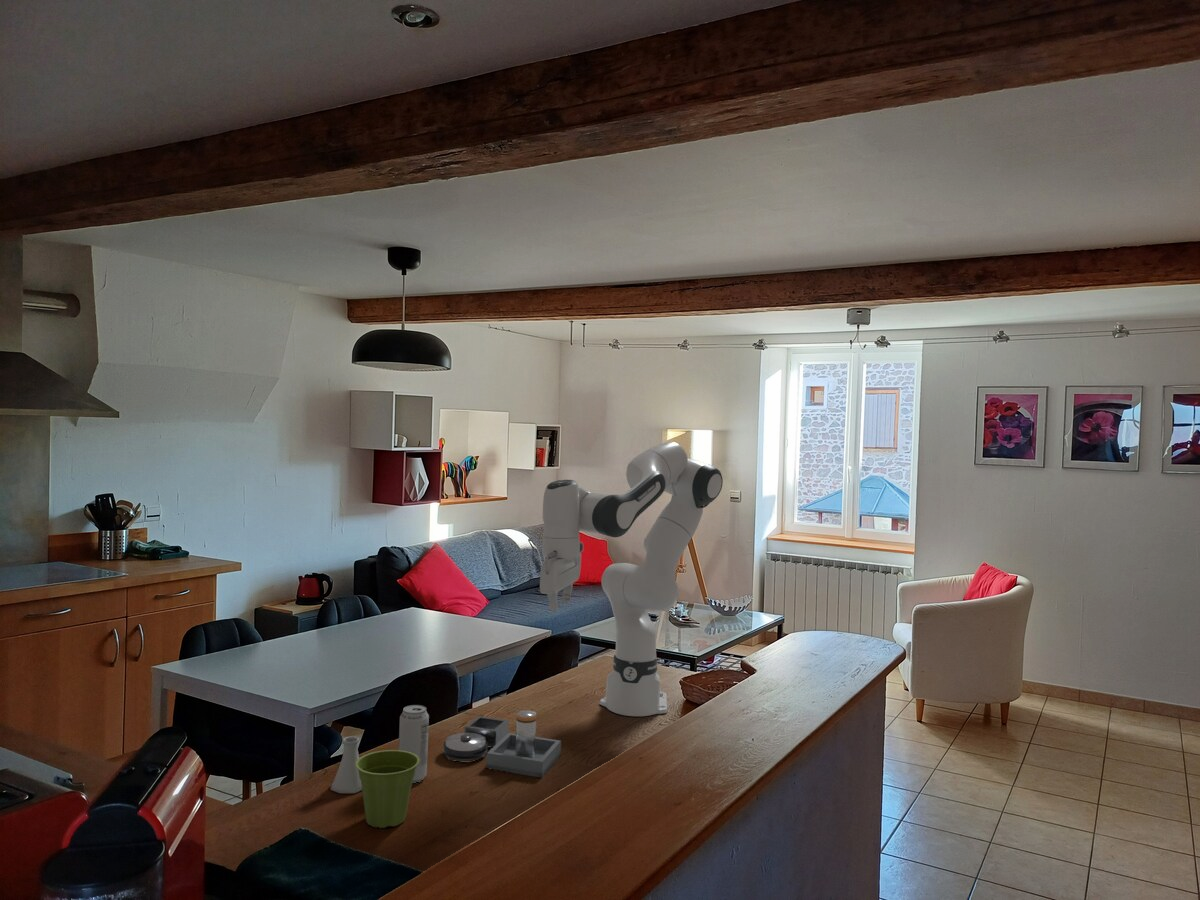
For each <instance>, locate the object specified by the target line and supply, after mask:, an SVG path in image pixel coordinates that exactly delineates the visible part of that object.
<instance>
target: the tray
mask: <svg viewBox="0 0 1200 900" xmlns="http://www.w3.org/2000/svg"><path fill="white" fill-rule="evenodd" d="M515 748H516V733H513V732H512V733H511V732H508V734H507V735H506V736H505V737H504V738H502V739H501V740H500V741H499V742H498V743H497V744H496V745H495V746H494V747H493V748H490V750H488V751H487V753H486V764H485V765H486V766H485V769H486V768H491V769H495V770H494V771H497V770H500V771H499V772H503V771H505V772H504V773H509V772H511V774H514V775H515V774H517V775H524V776H529V777H536V778H543V777H544V776H545V775H546V774H547V772H548V771H549V770H550V769H551V767H552V766H553V765H554V764H555V763H556V762H557V761H558V759H559V758H560V756H561V752H562V751H561V750H562V740H558V739H552V738H547V737H546V738H545V737H539V736H536V737H535V758H528V757H521V756H515ZM491 769H490V770H491Z"/></svg>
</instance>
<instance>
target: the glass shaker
mask: <svg viewBox="0 0 1200 900" xmlns="http://www.w3.org/2000/svg"><path fill="white" fill-rule="evenodd" d="M537 715H538V714H537V711H533V710H520V711H518V712H517V713H516V727H515V728H516V729H515V734H516V748H515V756H521V757H528V758H535V737H537V736H536V735H537V734H536V733H537V731H536V729H537V717H538V716H537Z"/></svg>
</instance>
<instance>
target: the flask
mask: <svg viewBox="0 0 1200 900" xmlns="http://www.w3.org/2000/svg"><path fill="white" fill-rule="evenodd" d="M359 741H360V737H357V736H346V737H344V738H343V739H342V744H343V752H342V756H341V757H342V758H341V760H340V763H339V766H338V768H337V772H336V775H335V777H334V779H333V782H332V785H331V786H330V791H333V792H335V793H338V794H356V793H358V792H360V791H362V785H361V780H360V778H359V771H358V769H357V768H356V766H355V763H356V761H357V760H358V759H359V758H360V756H359V750H358V743H359Z"/></svg>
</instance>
